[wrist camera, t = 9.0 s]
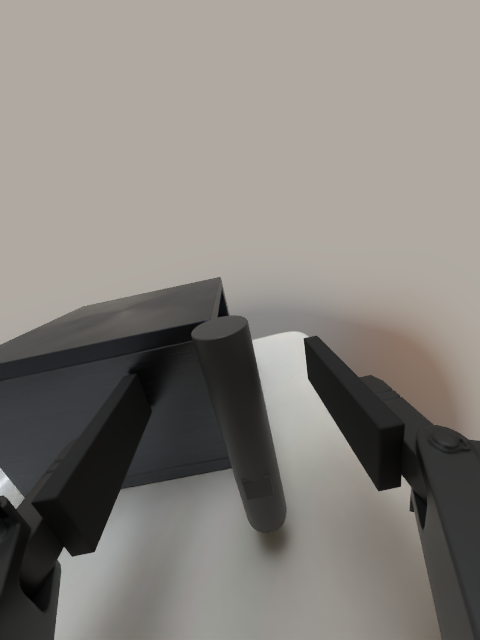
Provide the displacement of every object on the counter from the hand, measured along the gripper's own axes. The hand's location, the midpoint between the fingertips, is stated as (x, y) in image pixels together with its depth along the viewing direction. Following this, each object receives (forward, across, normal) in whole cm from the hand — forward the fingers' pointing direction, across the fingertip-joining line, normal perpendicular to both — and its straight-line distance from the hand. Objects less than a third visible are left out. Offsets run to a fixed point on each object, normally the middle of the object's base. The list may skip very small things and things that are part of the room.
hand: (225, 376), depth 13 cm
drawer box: (+7, -8, -8) cm, 13 cm away
